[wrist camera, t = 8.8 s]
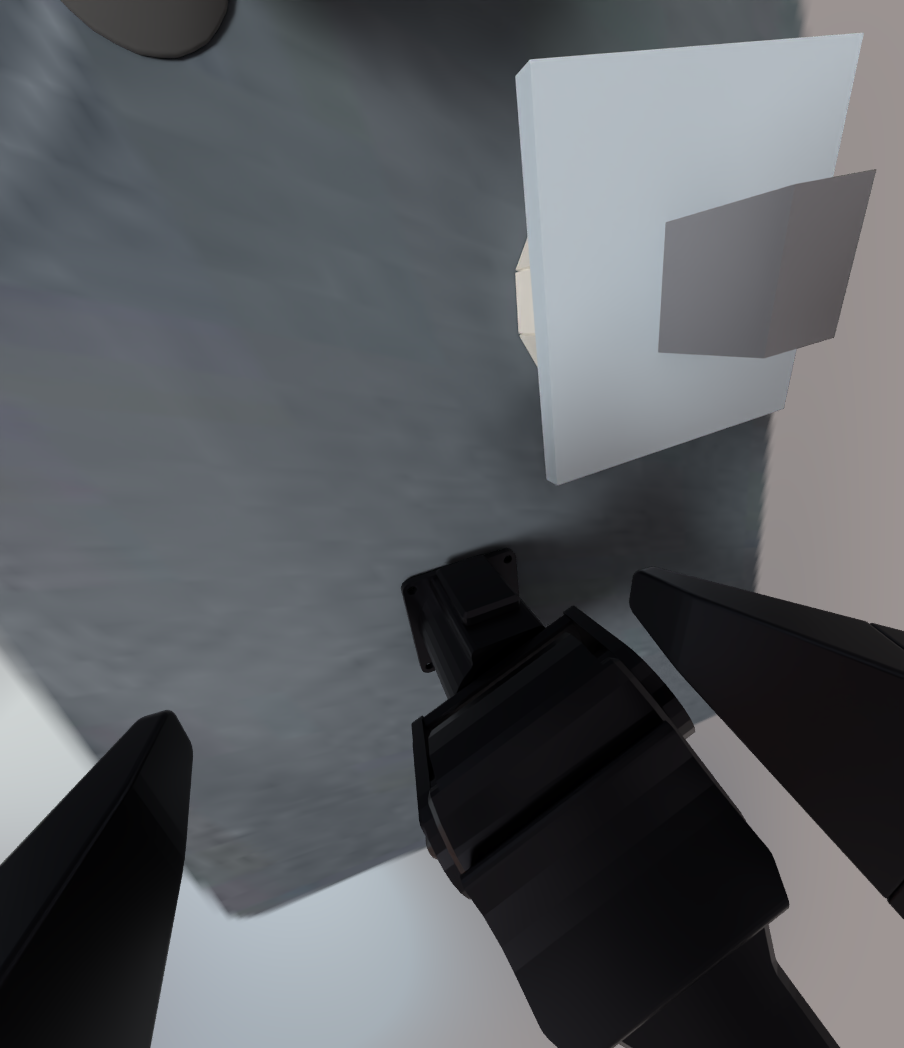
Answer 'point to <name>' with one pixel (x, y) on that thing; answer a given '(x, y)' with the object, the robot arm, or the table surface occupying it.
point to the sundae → (153, 23)
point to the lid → (682, 236)
